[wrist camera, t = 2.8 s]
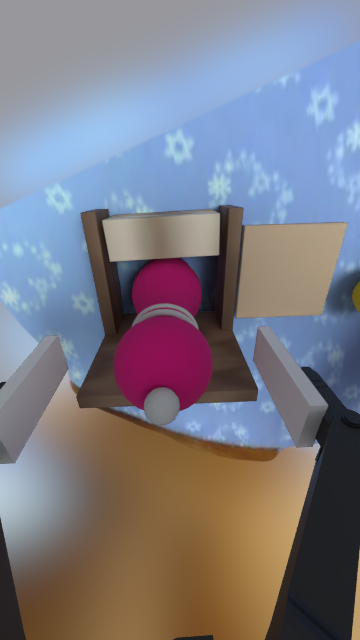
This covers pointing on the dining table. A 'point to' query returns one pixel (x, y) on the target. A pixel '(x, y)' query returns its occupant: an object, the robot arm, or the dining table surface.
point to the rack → (216, 326)
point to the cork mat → (287, 268)
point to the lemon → (356, 296)
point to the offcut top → (162, 236)
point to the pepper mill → (164, 343)
